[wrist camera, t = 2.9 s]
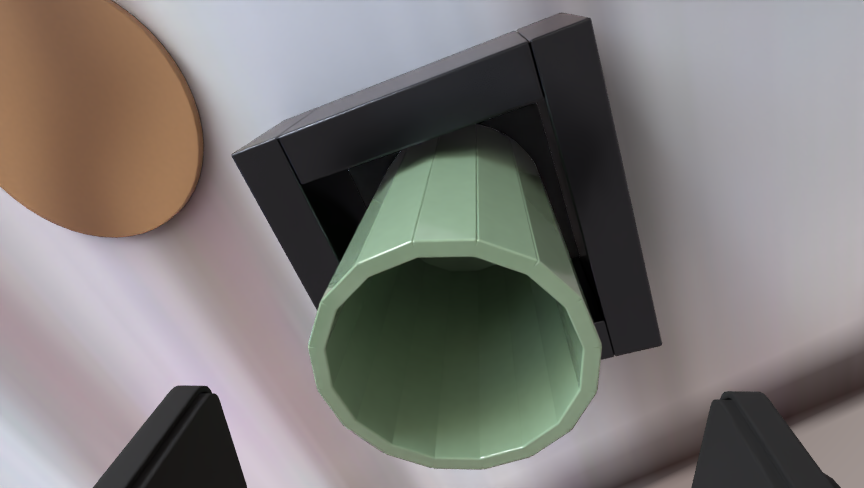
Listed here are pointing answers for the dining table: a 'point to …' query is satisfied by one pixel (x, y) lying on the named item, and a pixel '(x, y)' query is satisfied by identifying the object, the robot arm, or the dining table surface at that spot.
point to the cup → (457, 311)
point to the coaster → (93, 118)
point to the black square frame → (447, 112)
